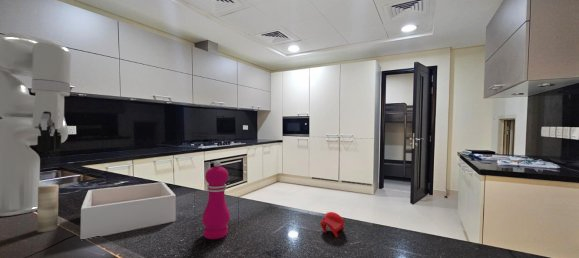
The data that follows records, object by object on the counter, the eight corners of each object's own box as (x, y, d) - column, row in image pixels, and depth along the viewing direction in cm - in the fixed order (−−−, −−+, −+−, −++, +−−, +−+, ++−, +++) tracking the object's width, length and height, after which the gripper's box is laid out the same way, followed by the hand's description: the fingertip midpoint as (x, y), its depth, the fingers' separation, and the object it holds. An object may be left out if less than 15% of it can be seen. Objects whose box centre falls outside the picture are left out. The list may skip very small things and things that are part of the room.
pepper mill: (221, 241, 59) (223, 163, 60) (196, 238, 61) (197, 162, 61) (234, 230, 67) (235, 159, 67) (210, 227, 68) (212, 158, 68)
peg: (39, 228, 66) (39, 185, 66) (58, 225, 68) (59, 183, 68) (35, 233, 62) (36, 188, 63) (56, 229, 65) (57, 186, 65)
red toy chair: (335, 230, 60) (348, 214, 63) (317, 216, 64) (331, 202, 67) (336, 245, 65) (349, 230, 68) (319, 232, 68) (332, 218, 71)
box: (87, 214, 76) (88, 190, 76) (163, 202, 90) (163, 182, 90) (80, 240, 59) (81, 208, 59) (175, 221, 72) (175, 195, 72)
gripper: (39, 91, 70) (38, 148, 70) (22, 82, 56) (20, 153, 56) (73, 93, 75) (72, 147, 75) (65, 86, 61) (63, 152, 61)
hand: (50, 149), depth 65 cm, fingers open, 9 cm apart
